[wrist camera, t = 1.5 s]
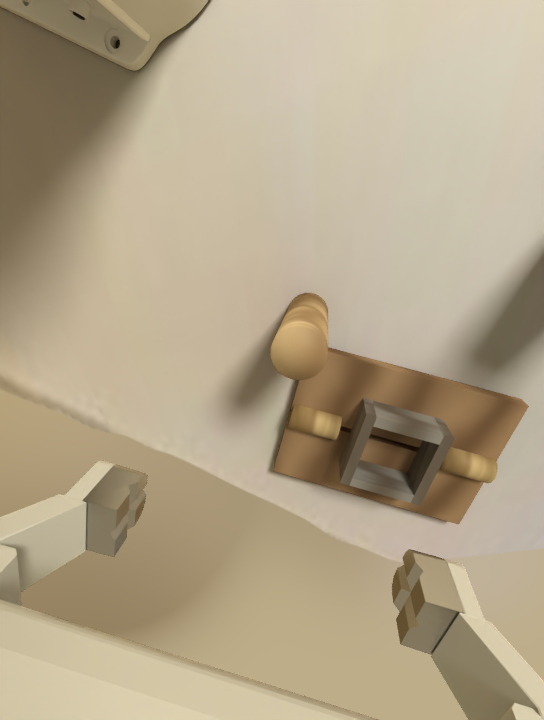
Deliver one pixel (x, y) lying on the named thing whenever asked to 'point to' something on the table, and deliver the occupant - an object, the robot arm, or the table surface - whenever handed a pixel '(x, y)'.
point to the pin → (302, 338)
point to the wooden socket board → (396, 435)
